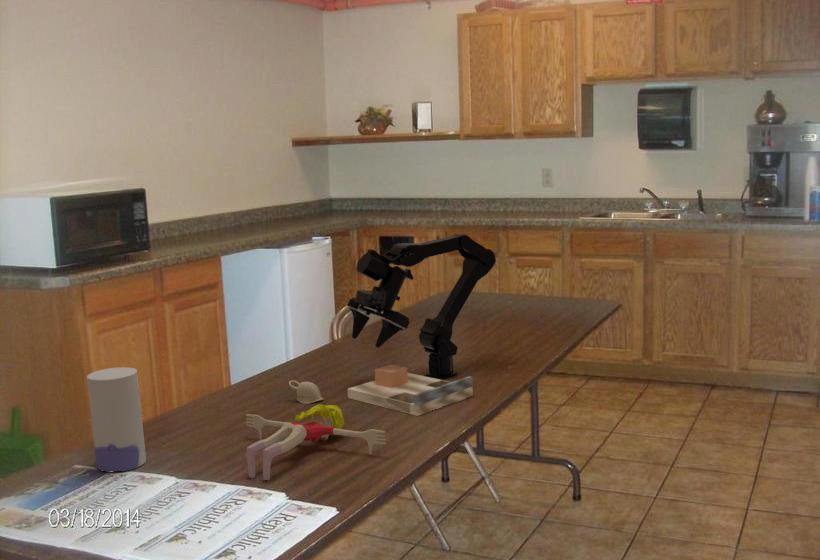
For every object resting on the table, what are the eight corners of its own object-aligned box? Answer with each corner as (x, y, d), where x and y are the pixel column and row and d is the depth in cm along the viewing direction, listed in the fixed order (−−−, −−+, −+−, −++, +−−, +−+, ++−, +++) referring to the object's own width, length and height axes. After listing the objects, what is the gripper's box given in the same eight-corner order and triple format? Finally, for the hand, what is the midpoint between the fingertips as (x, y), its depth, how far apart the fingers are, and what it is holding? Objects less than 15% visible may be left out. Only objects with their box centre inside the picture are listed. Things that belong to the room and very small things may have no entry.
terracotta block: (391, 379, 235) (391, 364, 234) (408, 382, 231) (407, 367, 230) (375, 384, 231) (374, 369, 230) (391, 388, 226) (390, 372, 226)
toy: (386, 457, 185) (384, 416, 183) (253, 484, 174) (249, 441, 172) (340, 420, 210) (338, 384, 209) (222, 441, 199) (218, 403, 198)
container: (151, 454, 193) (142, 365, 190) (139, 471, 183) (129, 377, 180) (105, 457, 193) (95, 367, 190) (90, 474, 183) (79, 380, 180)
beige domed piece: (316, 404, 224) (315, 384, 223) (288, 402, 228) (286, 382, 227) (324, 400, 228) (323, 380, 227) (296, 397, 231) (295, 377, 230)
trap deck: (403, 380, 242) (402, 362, 241) (472, 396, 225) (472, 376, 224) (348, 398, 228) (346, 379, 228) (417, 415, 211) (416, 395, 210)
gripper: (346, 269, 234) (321, 323, 232) (394, 284, 222) (369, 341, 219) (372, 285, 242) (349, 337, 240) (421, 300, 229) (396, 355, 227)
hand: (365, 342), depth 232 cm, fingers open, 9 cm apart
